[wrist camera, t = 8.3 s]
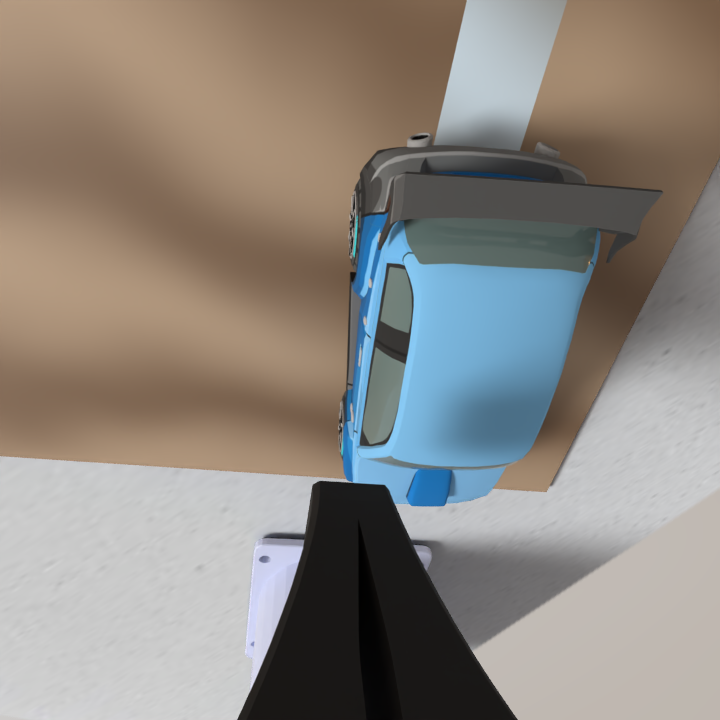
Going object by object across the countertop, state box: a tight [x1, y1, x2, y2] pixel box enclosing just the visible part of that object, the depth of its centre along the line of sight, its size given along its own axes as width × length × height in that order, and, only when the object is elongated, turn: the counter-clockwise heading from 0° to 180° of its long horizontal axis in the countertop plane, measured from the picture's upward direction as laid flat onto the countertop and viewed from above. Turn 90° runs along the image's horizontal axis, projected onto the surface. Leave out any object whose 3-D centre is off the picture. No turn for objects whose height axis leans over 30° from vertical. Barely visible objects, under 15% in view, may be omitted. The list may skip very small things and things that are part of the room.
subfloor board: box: [0, 0, 720, 492], centre depth 15 cm, size 20×24×1 cm
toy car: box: [338, 133, 664, 506], centre depth 15 cm, size 6×12×6 cm, turn 175°
